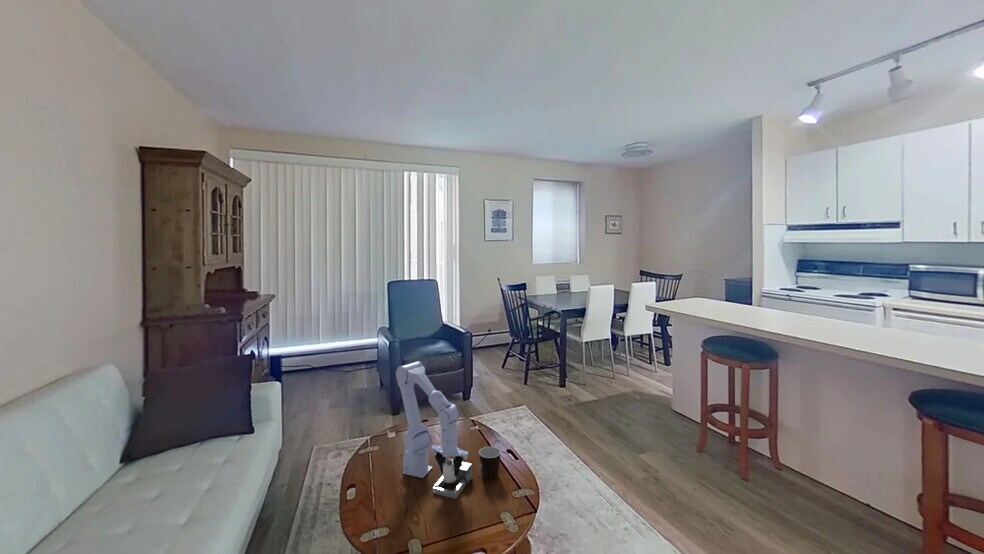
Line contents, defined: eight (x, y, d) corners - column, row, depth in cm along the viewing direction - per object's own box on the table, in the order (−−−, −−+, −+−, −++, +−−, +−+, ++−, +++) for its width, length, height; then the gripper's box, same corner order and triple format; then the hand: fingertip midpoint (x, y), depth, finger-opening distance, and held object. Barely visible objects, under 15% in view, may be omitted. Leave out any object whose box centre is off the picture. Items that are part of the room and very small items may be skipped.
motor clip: (471, 478, 154) (471, 461, 153) (456, 499, 141) (456, 480, 141) (443, 471, 158) (443, 455, 158) (426, 491, 146) (426, 473, 145)
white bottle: (440, 480, 145) (440, 462, 145) (447, 473, 150) (447, 455, 149) (452, 484, 143) (451, 465, 143) (458, 476, 148) (458, 458, 147)
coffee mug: (498, 483, 150) (498, 458, 149) (477, 481, 152) (476, 456, 151) (503, 467, 161) (503, 443, 160) (483, 465, 163) (483, 442, 162)
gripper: (426, 440, 145) (427, 475, 146) (462, 446, 139) (462, 483, 141) (436, 431, 151) (437, 465, 152) (470, 437, 146) (471, 472, 147)
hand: (450, 473), depth 147 cm, fingers closed on white bottle, 5 cm apart
